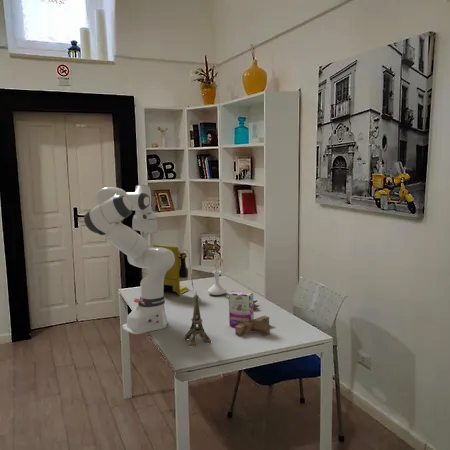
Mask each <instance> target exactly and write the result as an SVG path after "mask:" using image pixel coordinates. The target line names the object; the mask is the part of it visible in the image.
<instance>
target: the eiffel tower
mask: <svg viewBox="0 0 450 450" xmlns="http://www.w3.org/2000/svg"><path fill="white" fill-rule="evenodd" d="M193 299H194V305H193V314H192V318H191V326H190V327H189V330H188V331H187V332H186V333H185V335H184V337H183V338H184V339H185V341H188V340H187V339H190V340H189V343H188V344H189V345H188V347H190V346H193V347H197V345H196V337H197V336H198V337H200V338H203V339H204V342H205V344H207V343H209V344H212V343H211V341H212V339H210V338H209V336H208V334H207V333H206V332H205V328H204V326H203V318H201V312H200V305H199V304H200V303H199V299H200V297H199V294H197V292H195V295H193ZM184 339H183V340H184ZM194 345H195V346H194Z"/></svg>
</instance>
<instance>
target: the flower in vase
mask: <svg viewBox="0 0 450 450" xmlns="http://www.w3.org/2000/svg"><path fill="white" fill-rule="evenodd" d="M214 255H215V257H216V258H217V259H216V260H215V264H214V268H215V270H213V271H212V273H213V276H214V284H212V286H211V287H209V288H208V290H207V293H208V294H209V295H212V296H222V295H224V294H226V293H227V288H225V287H224V286H222V285H221V284H220V274H221V272H222V270H217V269H219V268H220V266H217V262H218V261H219V262H220V263H221V264H224V259H223V258H222V256H221V255H220V254H219V253H218V252H215V253H214Z"/></svg>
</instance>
